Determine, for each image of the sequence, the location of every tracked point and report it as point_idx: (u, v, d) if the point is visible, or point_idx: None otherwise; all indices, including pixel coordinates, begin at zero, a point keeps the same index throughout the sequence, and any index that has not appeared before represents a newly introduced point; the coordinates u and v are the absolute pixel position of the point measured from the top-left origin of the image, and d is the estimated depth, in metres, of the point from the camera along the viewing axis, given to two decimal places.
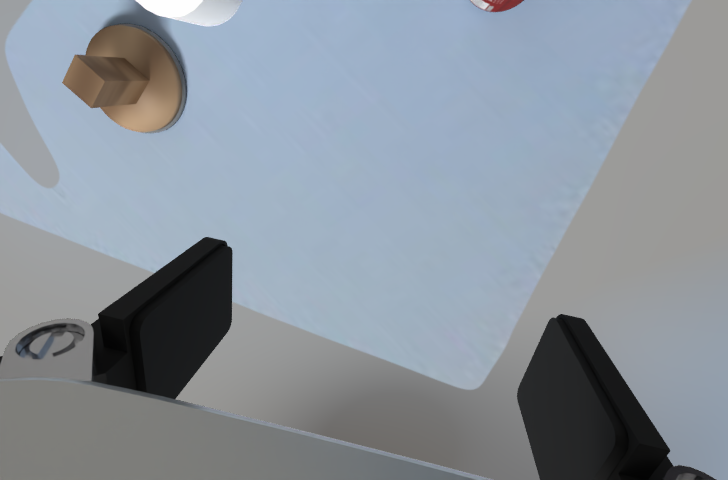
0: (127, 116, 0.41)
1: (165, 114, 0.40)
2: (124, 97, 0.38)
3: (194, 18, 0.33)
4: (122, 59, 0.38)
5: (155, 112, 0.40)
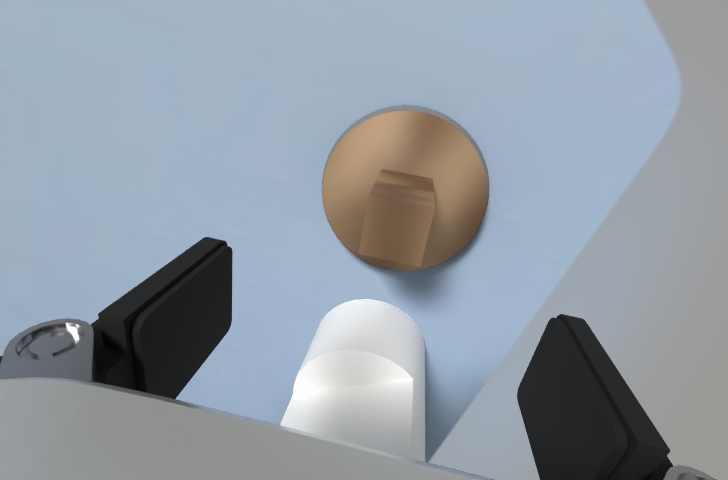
0: (390, 136, 0.22)
1: (331, 181, 0.24)
2: None
3: (313, 347, 0.26)
4: None
5: (348, 174, 0.24)
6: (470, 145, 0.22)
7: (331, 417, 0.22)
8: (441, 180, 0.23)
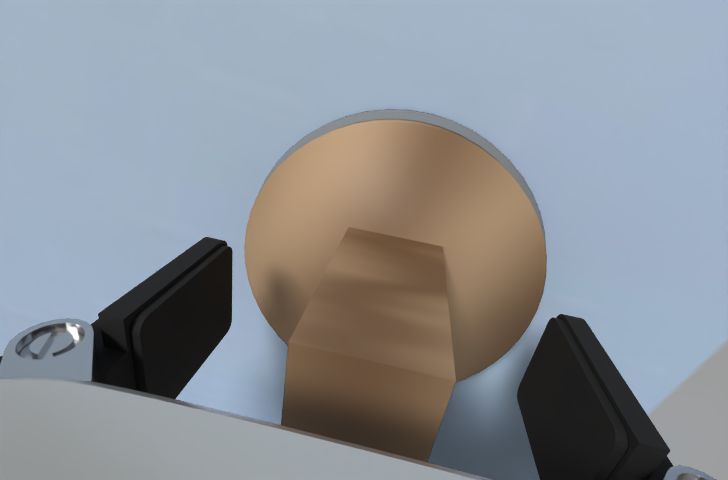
0: (362, 169, 0.12)
1: (259, 246, 0.13)
2: None
3: None
4: None
5: (288, 235, 0.13)
6: (517, 188, 0.11)
7: None
8: (459, 250, 0.12)
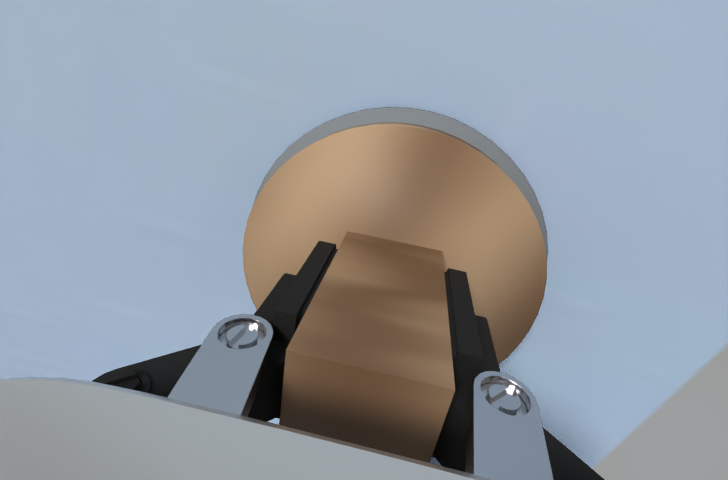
0: (361, 174, 0.12)
1: (258, 250, 0.13)
2: None
3: None
4: None
5: (286, 240, 0.13)
6: (517, 193, 0.11)
7: None
8: (459, 255, 0.12)
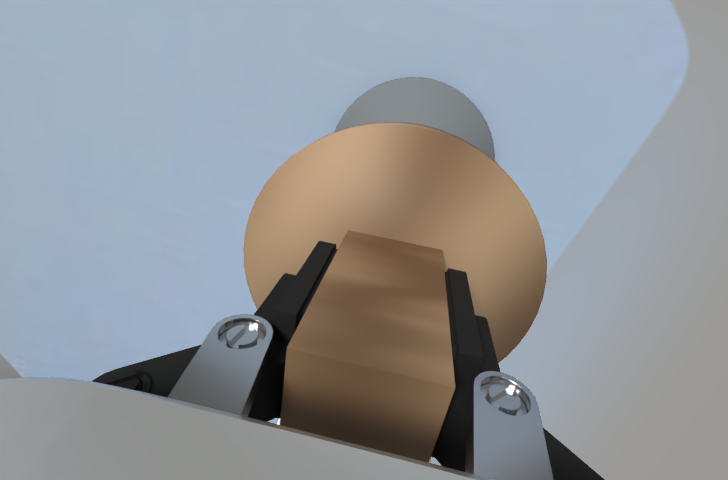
0: (362, 173, 0.12)
1: (258, 249, 0.13)
2: None
3: None
4: None
5: (286, 238, 0.13)
6: (517, 192, 0.11)
7: None
8: (458, 254, 0.12)
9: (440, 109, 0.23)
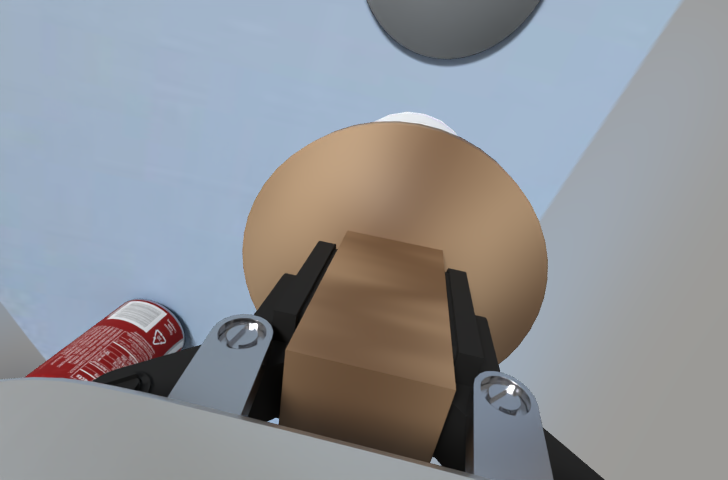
0: (361, 173, 0.11)
1: (257, 250, 0.13)
2: None
3: None
4: None
5: (286, 239, 0.13)
6: (518, 192, 0.11)
7: None
8: (459, 254, 0.12)
9: None
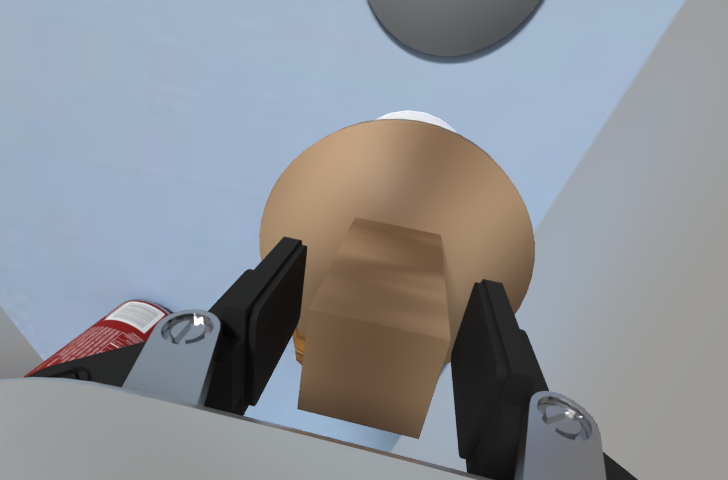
0: (368, 165, 0.13)
1: (273, 235, 0.15)
2: None
3: None
4: None
5: (299, 225, 0.14)
6: (508, 181, 0.12)
7: None
8: (455, 238, 0.13)
9: None
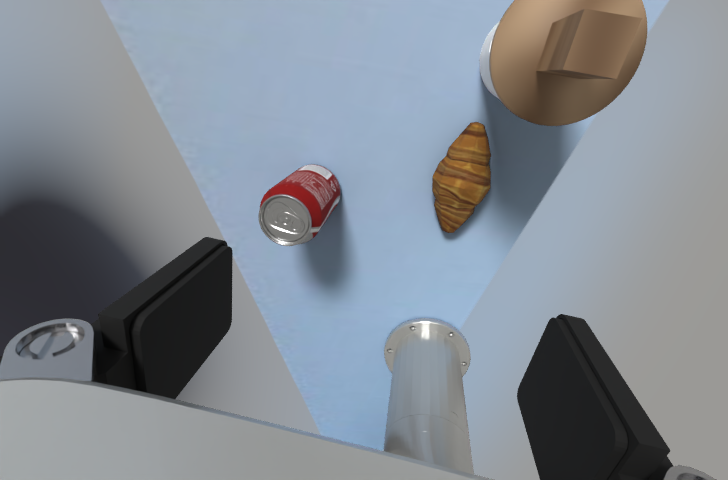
0: None
1: (502, 38, 0.27)
2: (557, 35, 0.25)
3: None
4: (578, 78, 0.27)
5: (519, 30, 0.27)
6: None
7: None
8: None
9: None
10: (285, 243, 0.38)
